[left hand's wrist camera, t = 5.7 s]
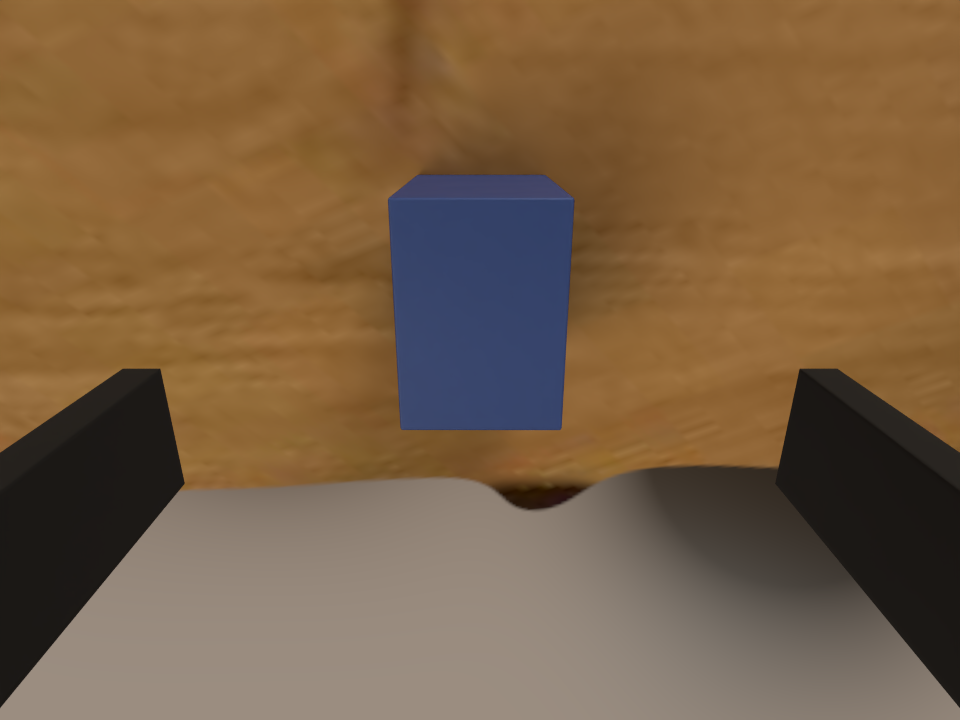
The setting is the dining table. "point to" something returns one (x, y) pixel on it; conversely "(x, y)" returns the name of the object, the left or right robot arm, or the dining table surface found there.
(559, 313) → the brick
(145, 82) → the dining table surface
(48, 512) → the left robot arm
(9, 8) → the dining table surface
